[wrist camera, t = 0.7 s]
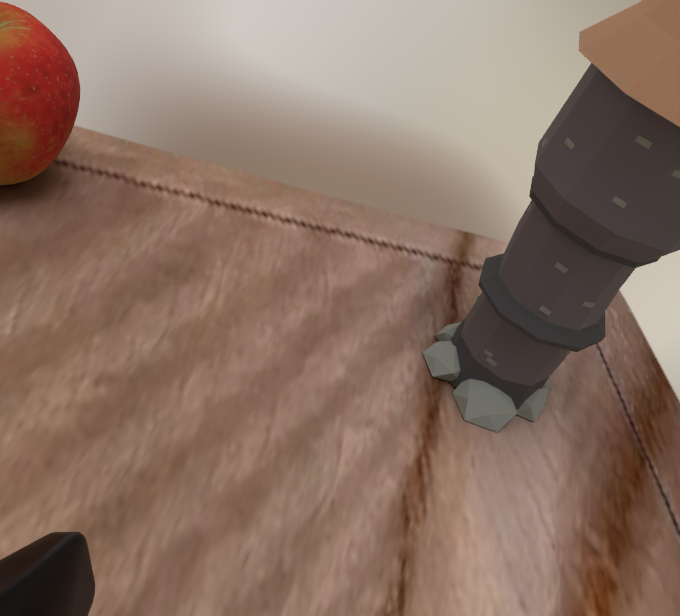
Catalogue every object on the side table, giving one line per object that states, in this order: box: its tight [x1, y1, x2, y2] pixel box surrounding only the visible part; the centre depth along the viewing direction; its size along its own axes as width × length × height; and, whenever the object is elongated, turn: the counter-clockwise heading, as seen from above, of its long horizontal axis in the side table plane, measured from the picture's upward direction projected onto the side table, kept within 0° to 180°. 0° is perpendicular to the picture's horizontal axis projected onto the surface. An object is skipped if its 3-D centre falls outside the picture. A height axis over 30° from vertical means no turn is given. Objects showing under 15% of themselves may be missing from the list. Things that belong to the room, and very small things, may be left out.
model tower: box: [423, 0, 680, 432], centre depth 26 cm, size 10×11×30 cm
